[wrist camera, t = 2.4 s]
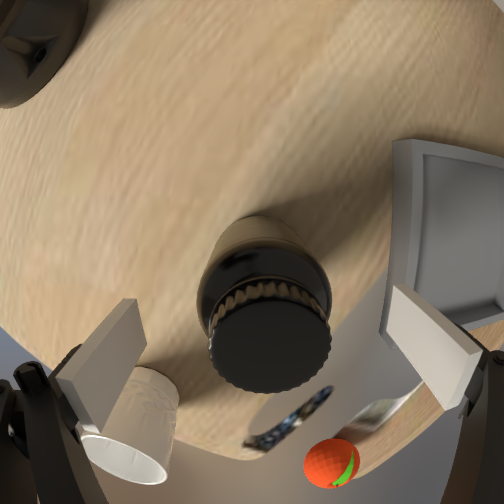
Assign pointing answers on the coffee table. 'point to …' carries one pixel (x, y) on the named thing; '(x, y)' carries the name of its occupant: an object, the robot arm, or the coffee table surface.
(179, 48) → the coffee table surface
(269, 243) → the supplement bottle
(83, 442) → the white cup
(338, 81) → the coffee table surface
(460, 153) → the tray
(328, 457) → the clementine
